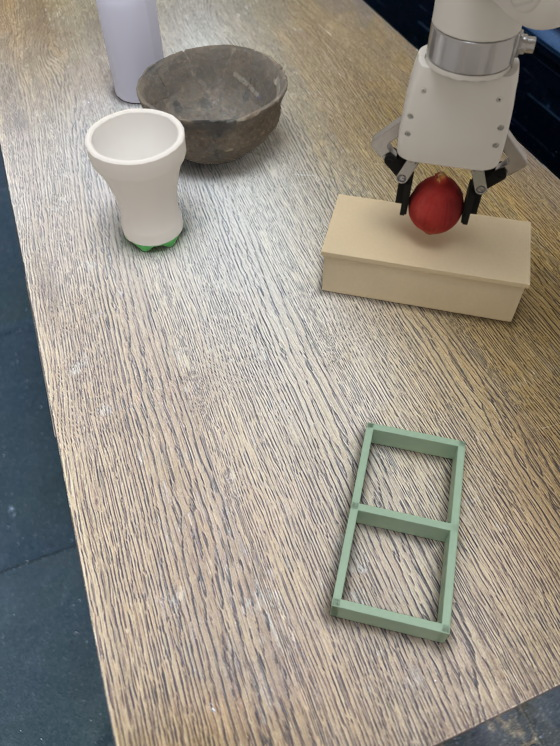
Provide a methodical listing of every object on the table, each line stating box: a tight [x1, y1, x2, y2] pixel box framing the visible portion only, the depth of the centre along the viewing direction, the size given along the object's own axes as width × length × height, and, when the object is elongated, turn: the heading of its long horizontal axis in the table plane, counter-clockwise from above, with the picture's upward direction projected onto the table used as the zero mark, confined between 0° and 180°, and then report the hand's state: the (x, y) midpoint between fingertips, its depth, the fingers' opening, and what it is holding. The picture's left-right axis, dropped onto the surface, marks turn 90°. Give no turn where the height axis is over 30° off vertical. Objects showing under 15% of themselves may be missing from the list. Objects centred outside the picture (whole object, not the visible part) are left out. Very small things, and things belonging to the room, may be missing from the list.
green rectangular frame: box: [329, 421, 467, 644], centre depth 58 cm, size 9×18×2 cm, turn 166°
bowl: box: [136, 43, 289, 165], centre depth 92 cm, size 21×21×10 cm
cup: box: [84, 107, 186, 252], centre depth 78 cm, size 11×11×14 cm
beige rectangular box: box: [320, 193, 532, 323], centre depth 76 cm, size 23×11×6 cm, turn 76°
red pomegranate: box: [408, 171, 465, 235], centre depth 70 cm, size 6×6×8 cm
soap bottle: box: [94, 0, 165, 104], centre depth 96 cm, size 9×9×24 cm
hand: (434, 210), depth 71 cm, fingers closed on red pomegranate, 5 cm apart
